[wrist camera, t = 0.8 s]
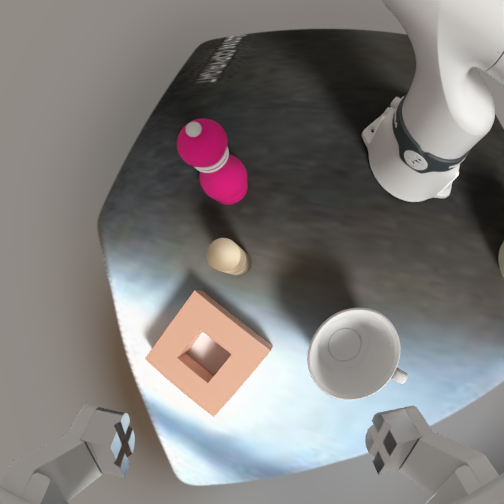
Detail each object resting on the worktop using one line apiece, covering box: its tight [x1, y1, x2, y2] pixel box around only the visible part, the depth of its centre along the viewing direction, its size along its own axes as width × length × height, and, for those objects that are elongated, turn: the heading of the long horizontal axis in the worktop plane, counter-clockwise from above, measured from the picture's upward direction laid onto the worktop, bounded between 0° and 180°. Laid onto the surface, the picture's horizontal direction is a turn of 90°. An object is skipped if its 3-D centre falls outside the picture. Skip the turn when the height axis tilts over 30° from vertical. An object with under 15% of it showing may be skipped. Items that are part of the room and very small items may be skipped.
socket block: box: [145, 290, 272, 416], centre depth 44 cm, size 14×14×4 cm
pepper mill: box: [177, 119, 248, 205], centre depth 39 cm, size 7×7×20 cm
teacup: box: [307, 308, 408, 400], centre depth 38 cm, size 12×15×10 cm
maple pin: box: [207, 238, 251, 276], centre depth 42 cm, size 4×4×11 cm
